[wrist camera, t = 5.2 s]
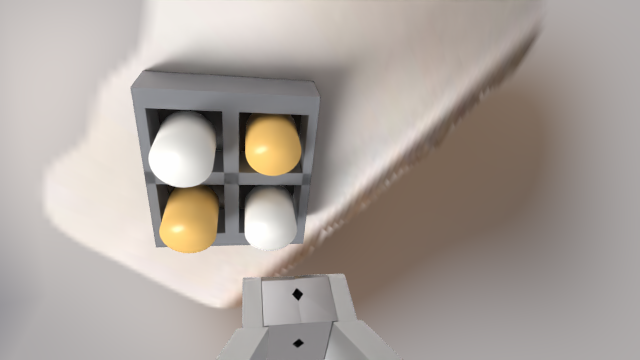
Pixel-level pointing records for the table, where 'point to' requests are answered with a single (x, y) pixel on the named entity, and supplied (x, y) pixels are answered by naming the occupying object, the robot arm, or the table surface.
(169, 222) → the button
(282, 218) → the button
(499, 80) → the table surface
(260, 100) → the grey egg tray
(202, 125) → the button
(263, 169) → the button
